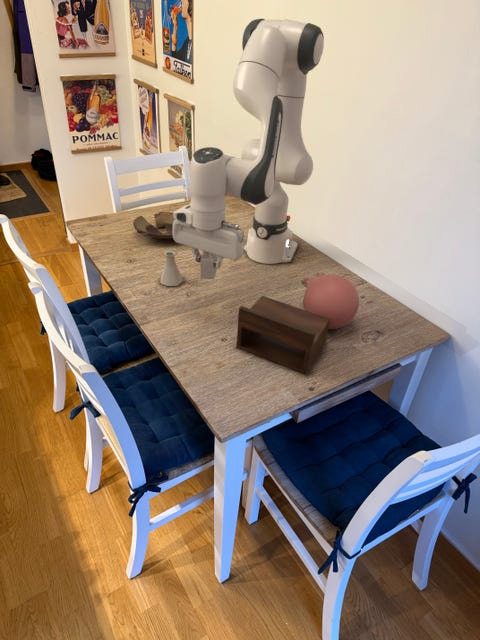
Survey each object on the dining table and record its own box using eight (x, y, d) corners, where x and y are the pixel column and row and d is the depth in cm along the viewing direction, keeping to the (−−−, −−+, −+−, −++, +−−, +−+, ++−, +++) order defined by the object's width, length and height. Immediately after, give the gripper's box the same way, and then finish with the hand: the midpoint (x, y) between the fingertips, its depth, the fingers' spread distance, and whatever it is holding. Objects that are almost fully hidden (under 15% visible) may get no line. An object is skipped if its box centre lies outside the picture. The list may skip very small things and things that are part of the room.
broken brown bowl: (122, 229, 170) (120, 211, 165) (189, 215, 185) (189, 197, 180) (148, 253, 156) (147, 233, 151) (218, 235, 170) (219, 217, 166)
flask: (178, 288, 138) (177, 260, 132) (156, 285, 139) (155, 257, 133) (185, 277, 144) (184, 250, 138) (164, 273, 145) (163, 246, 139)
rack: (259, 321, 127) (263, 283, 119) (324, 345, 120) (333, 306, 112) (236, 347, 117) (238, 308, 109) (305, 375, 110) (313, 334, 102)
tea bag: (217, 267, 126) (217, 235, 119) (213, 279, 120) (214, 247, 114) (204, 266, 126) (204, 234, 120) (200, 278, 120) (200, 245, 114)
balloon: (320, 296, 140) (329, 253, 130) (363, 331, 126) (376, 285, 117) (280, 307, 133) (286, 263, 124) (321, 346, 119) (331, 299, 110)
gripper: (249, 222, 109) (246, 270, 118) (181, 203, 116) (183, 249, 125) (237, 231, 105) (235, 280, 113) (167, 211, 112) (170, 259, 120)
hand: (207, 264), depth 119 cm, fingers closed on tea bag, 4 cm apart
